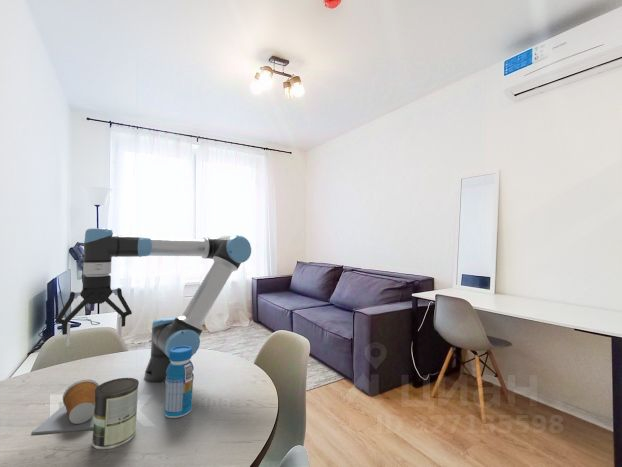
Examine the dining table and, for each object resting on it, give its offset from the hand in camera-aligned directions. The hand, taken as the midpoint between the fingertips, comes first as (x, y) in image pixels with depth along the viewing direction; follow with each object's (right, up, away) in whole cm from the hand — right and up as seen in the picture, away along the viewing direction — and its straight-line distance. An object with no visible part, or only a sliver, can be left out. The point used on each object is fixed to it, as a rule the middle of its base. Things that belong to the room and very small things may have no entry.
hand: (94, 340), depth 97 cm
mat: (0, -22, -4) cm, 22 cm away
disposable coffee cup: (+4, -18, -10) cm, 21 cm away
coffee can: (+16, -22, -15) cm, 31 cm away
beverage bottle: (+28, -23, -1) cm, 36 cm away
